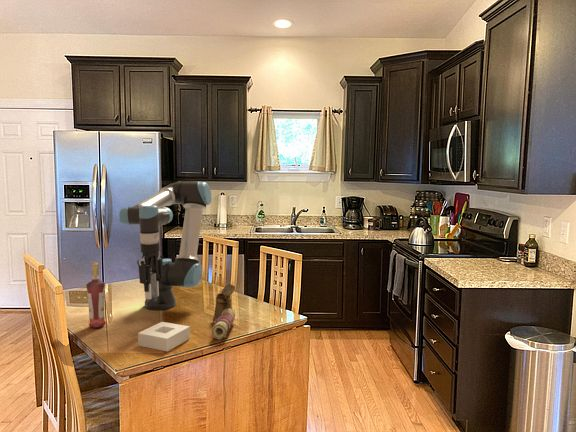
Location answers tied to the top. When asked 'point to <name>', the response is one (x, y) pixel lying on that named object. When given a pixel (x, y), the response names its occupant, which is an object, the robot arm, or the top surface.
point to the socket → (164, 336)
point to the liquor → (96, 299)
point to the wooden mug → (223, 300)
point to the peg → (153, 287)
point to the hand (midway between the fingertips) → (152, 297)
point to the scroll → (223, 323)
